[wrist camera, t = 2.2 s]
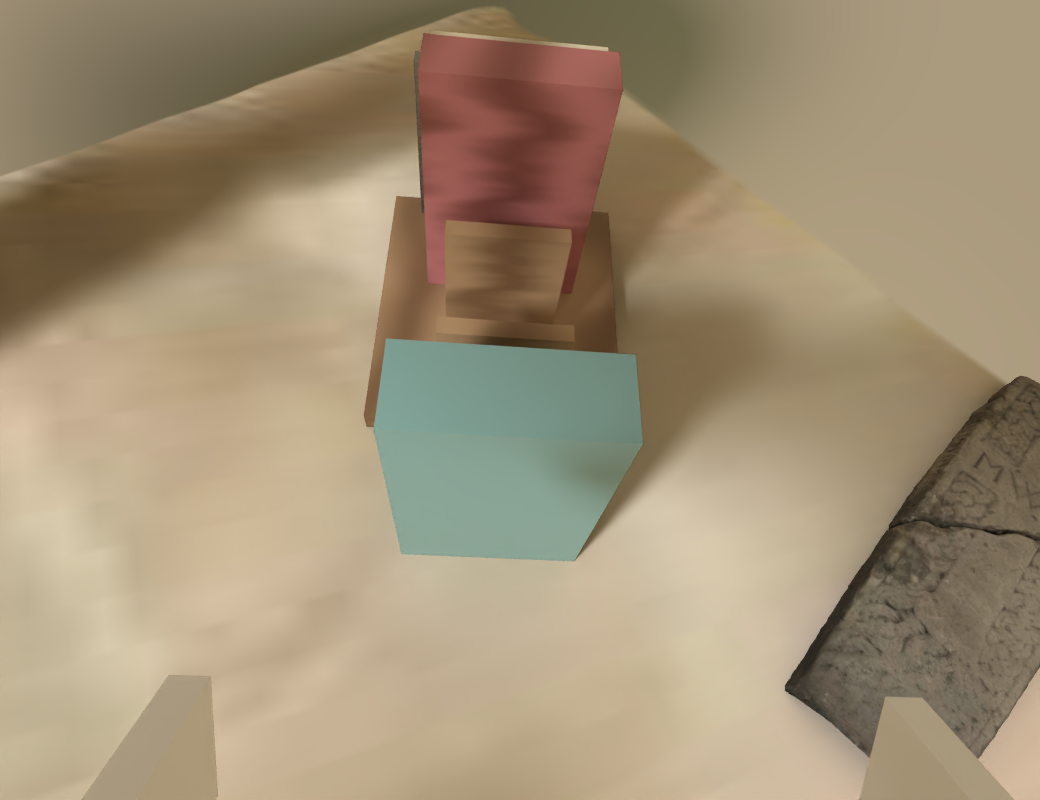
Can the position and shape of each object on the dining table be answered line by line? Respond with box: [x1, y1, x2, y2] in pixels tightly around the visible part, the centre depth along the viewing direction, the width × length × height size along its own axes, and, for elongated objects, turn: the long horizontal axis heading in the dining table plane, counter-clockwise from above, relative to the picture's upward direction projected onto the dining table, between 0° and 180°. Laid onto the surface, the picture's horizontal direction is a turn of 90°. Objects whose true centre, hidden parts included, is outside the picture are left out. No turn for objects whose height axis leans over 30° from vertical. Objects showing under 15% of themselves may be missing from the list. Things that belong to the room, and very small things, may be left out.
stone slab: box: [785, 376, 1040, 759], centre depth 40 cm, size 10×3×30 cm
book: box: [374, 339, 643, 561], centre depth 33 cm, size 10×4×16 cm, turn 89°
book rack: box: [364, 30, 623, 427], centre depth 39 cm, size 16×18×18 cm
